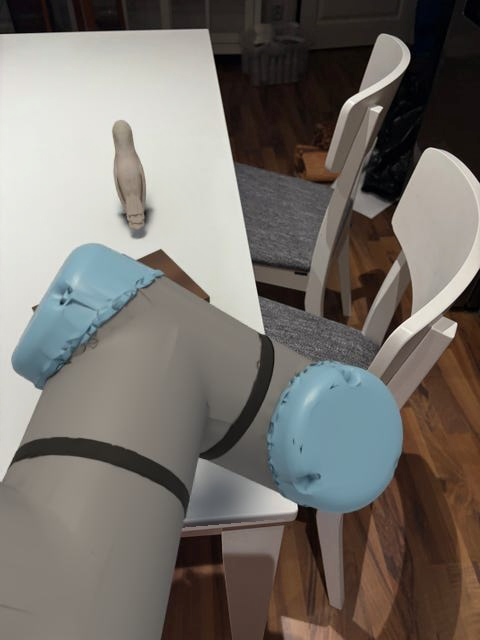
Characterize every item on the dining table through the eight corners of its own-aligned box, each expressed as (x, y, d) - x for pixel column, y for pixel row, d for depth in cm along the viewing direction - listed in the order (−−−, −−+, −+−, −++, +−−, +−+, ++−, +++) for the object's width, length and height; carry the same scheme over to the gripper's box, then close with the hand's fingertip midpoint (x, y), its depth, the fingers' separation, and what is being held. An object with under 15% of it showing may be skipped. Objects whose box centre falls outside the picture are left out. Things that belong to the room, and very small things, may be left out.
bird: (146, 190, 94) (134, 109, 83) (154, 237, 86) (142, 153, 75) (118, 193, 94) (103, 112, 83) (124, 241, 85) (107, 156, 74)
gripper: (132, 536, 36) (80, 470, 56) (344, 388, 44) (231, 378, 65) (81, 441, 35) (47, 409, 55) (308, 308, 43) (204, 323, 64)
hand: (146, 392), depth 60 cm, fingers closed on sliding door, 7 cm apart
